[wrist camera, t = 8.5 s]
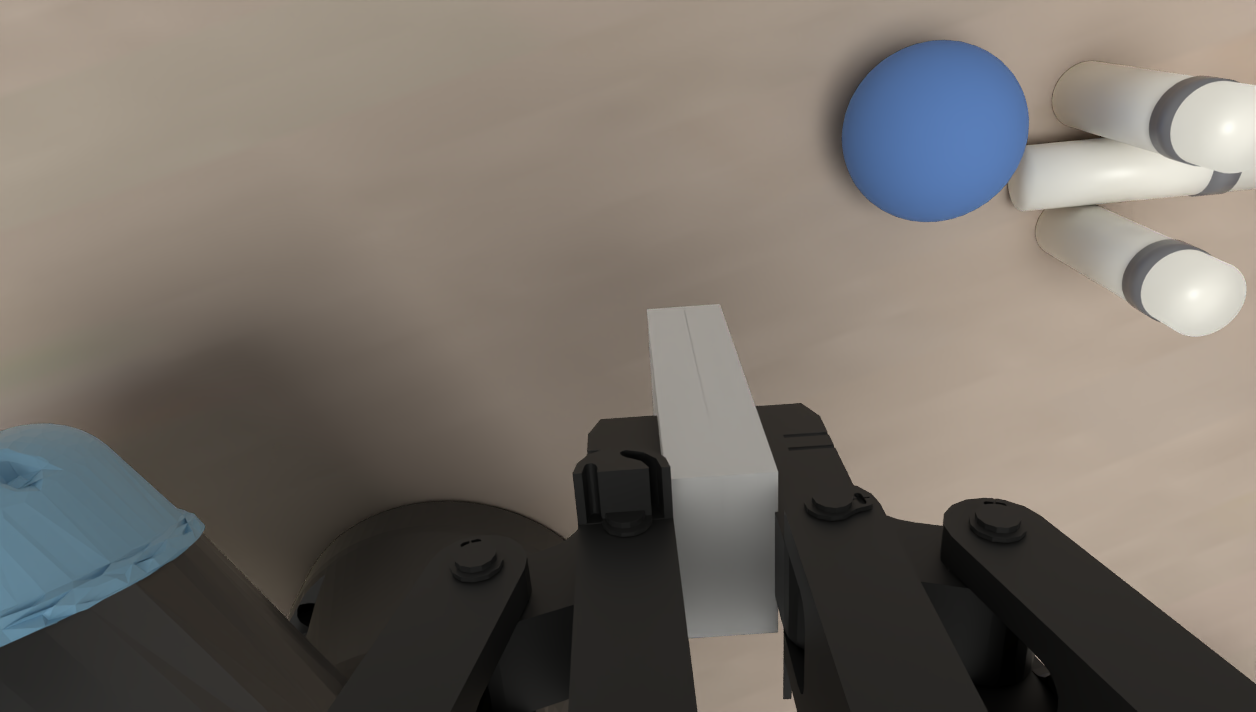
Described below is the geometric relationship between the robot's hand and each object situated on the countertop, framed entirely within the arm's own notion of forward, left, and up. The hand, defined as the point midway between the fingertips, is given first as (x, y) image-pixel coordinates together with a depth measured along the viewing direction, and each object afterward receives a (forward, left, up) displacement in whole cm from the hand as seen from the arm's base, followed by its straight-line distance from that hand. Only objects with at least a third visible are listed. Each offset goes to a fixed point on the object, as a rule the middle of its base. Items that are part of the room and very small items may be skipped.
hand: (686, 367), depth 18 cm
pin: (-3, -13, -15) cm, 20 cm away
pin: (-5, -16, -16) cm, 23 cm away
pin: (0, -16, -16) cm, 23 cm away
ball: (0, -10, -13) cm, 17 cm away
